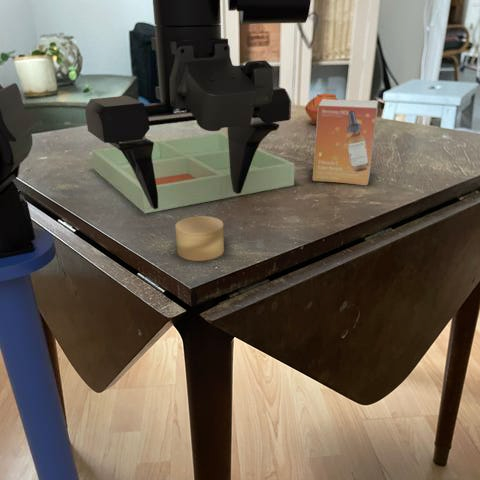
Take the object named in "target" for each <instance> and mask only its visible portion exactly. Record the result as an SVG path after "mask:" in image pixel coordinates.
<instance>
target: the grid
mask: <svg viewBox="0 0 480 480" xmlns="http://www.w3.org/2000/svg"><path fill="white" fill-rule="evenodd" d="M153 142H154V146H153V152H152V162H153V168H154V174H155V180H156V186H157V192H158V209H153V208H152V207H151V205H150V203H149V201H148V199H147V197H146V195H145V193H144V191H143V189H142V187H141V185H140V183H139V181H138V179H137V177H136V175H135V173H134V171H133V169H132V167H131V166H130V164H129V162H128V161H127V159H126V158H125V156H124V154H123V153H122V151H121V150H118V149H117V148H116V147H114V146H112V147H105V148H96V149H92V150H91V155H92V161H93V168H94V171H95V172H96V173H97V174H99V175H100V176H101V177H102V178H103V179H104V180H106V182H108V183H109V184H110V185H111V186H112V187H113V188H115V189H116V190H117V191H118V192H119V193H121V194H122V196H124V197H125V198H126V199H128V200H129V202H130V203H132V204H133V205H134V206H135V207H137V208H138V209H139V210H140V211H141V212H142V213H144V214H150V213H156V212H160V211H165V210H166V211H167V210H170V209H171V210H172V209H176V208H182V207H187V206H192V205H197V204H203V203H207V202H213V201H218V200H225V199H228V198H234V197H240V196H244V195H245V196H246V195H249V194H254V193H260V192H266V191H271V190H275V189H276V190H277V189H282V188H287V187H292V186H295V167H296V164H295V162H292V161H289V160H287V159H285V158H282V157H280V156H278V155H275V154H273V153H271V152H268V151H266V150H263V149H261V148H259V147H258V148H257V150H256V152H255V155H254V157H253V160H252V162H251V166H250V168H249V171H248V174H247V177H246V180H245V183H244V186H243V188H242V191H241V193H239V194H237V193H235V192H234V191H233V188H232V182H231V175H230V159H229V143H228V134H225V133H223V132H218V133H217V132H216V133H209V134H202V135H194V136H193V135H192V136H188V137H186V136H185V137H179V138H171V139H164V140H157V141H153Z"/></svg>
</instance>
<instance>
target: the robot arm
mask: <svg viewBox="0 0 480 480" xmlns="http://www.w3.org/2000/svg"><path fill="white" fill-rule="evenodd" d="M311 1H312V0H227V8H228V11H229V12H231V11H232V12H234V11H236V12H239V15H240V17H239V19H240V24H241V25H250V24H252V25H255V24H258V25H259V24H261V25H262V24H263V25H264V24H305V23H307V21H308V19H309V14H310V10H311V3H312V2H311ZM152 9H153V21H154V22H153V23H154V33H155V36H154V37H152V36H151V37H150V42H151V50H152V51H155V52H156V56H157V57H156V59H157V69H158V70H157V71H158V73H157V74H158V83H159V86H154V88H155V89H154V90H155V99H157V100H159V101H160V102H152V103H144V102H143V101H140V100H138V99H135V98H133V97H131V96H128V95H120V96H110V97H109V96H107V97H98V98H90V99H89V101H88V103H87V104H86V106H85V113H84V114H85V120H86V126H87V132H89V133H90V134H91V135H93V136H94V137H96V138H97V139H98V140H100V141H102V142H103V143H105V144H110V146H112V147H116V148H117V149H118V150H121V151H122V153H123V154H124V156H125V158H126V159H127V161H128V162H129V164H130V166H131V167H132V169H133V171H134V173H135V175H136V177H137V179H138V181H139V183H140V185H141V187H142V189H143V191H144V193H145V195H146V197H147V199H148V201H149V203H150V205H151V207H152V208H153V209H158V192H157V186H156V180H155V174H154V168H153V162H152V152H153V146H154V142H155V141H152V140H151V139H149V138H147V137H146V134H147V133H148V132H149V130H150V127H152V126H159V125H161V126H162V125H169V124H170V125H171V124H177V123H184V122H185V123H186V122H193V121H195V122H196V124H197V125H198V126H199V127H200V128H201V129H202V130H204V131H207V132H218V131H220V130H222V129H226V128H227V135H228V143H229V159H230V175H231V182H232V188H233V191H234V192H235V193H237V194H239V193H241V191H242V188H243V186H244V183H245V180H246V177H247V174H248V171H249V168H250V166H251V162H252V160H253V157H254V155H255V152H256V150H257V148H259V146H260V144H261V142H262V141H263V140H264V139H265V138H266V137H267V136H268V135H270V133H272V132H276V131H277V130H278V129H279V128H280V124H279V123H278V122H286V121H290V120H291V119H292V100H291V97H290V95H289V93H288V91H287V89H285V88H283V87H280V86H275V85H274V68H273V66H272V65H271V64H270V63H269V62H268V61H267V60H265V59H264V60H251V61H250V60H249V61H246V62H245V63H244V64H241V65H234V64H233V62H232V59H231V47H230V44H229V38H224V37H222V19H221V18H222V17H221V15H222V14H221V12H222V11H221V0H152ZM18 85H19V84H17V83H15V82H14V83H11V84H9V85H7V86H5V87H3V86H2V85H1V84H0V259H2V258H7V257H12V256H16V255H21V254H26V253H31V252H34V251H35V248H34V245H33V243H32V242H31V241H33V240H34V239H35V234H34V230H33V228H34V226H33V221H32V217H31V212H30V207H29V203H28V202H27V200H26V198H25V197H24V195H22V194H20V191H19V188H18V187H17V185H16V183H15V182H14V180H15V179H17V178H18V177H19V174H20V168H21V167H20V166H21V164H22V163H23V162H24V161H25V160H26V159H27V158H28V157H29V155H30V153H31V151H32V147H33V142H34V141H33V135H32V131H31V129H33V128H34V127H35V126H36V123H35V122H34V121H33V119H32V118H31V117H30V115H29V114H28V112H27V111H26V109H25V105H24V103H23V99H22V94H21V93H22V92H21V90H20V87H19V86H18ZM174 110H175V111H174Z"/></svg>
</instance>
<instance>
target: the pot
mask: <svg viewBox="0 0 480 480" xmlns="http://www.w3.org/2000/svg"><path fill="white" fill-rule="evenodd" d="M322 99H329V100H339V99H338V98H337V95H336V94H332V93H320V94H319V93H318V94H316V96H315V97H313V98H312V99H310V100H309V101H308V102H307V103H306V105H305V107H304V111H305V112H306V114H307V115H308V117H309V118H310V119H311V121H312V124H313V125H315V124H316V123H317V113H318V105H319V104H320V102H321V101H322Z"/></svg>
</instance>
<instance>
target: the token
mask: <svg viewBox="0 0 480 480" xmlns="http://www.w3.org/2000/svg"><path fill="white" fill-rule="evenodd" d="M174 228H175V240H176V242H175V243H176V253H177V255H178V256H179V257H180V258H181V259H184V260H187V261H192V262H202V261H203V262H204V261H210V260H211V261H212V260H215V259H217V258H220V257H221V256H222V255H223V254H224V252H225V236H224V234H225V233H224V230H225V229H224V222H223V221H222V220H221V219H219V218H217V217H214V216H206V215H197V216H189V217H185V218H182V219H180V220H178V221H177V222H176V223H175V225H174Z"/></svg>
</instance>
